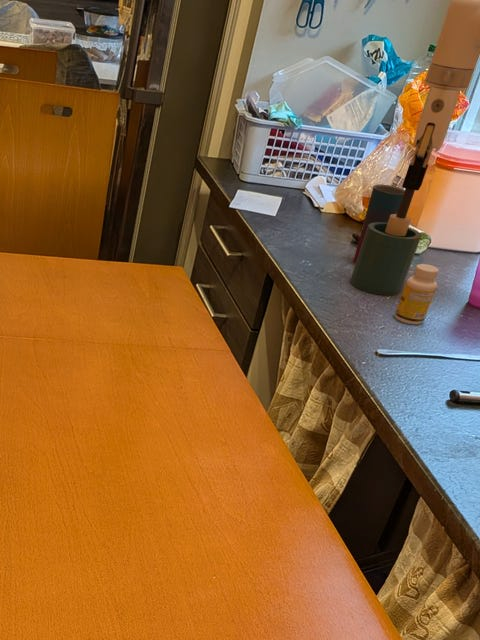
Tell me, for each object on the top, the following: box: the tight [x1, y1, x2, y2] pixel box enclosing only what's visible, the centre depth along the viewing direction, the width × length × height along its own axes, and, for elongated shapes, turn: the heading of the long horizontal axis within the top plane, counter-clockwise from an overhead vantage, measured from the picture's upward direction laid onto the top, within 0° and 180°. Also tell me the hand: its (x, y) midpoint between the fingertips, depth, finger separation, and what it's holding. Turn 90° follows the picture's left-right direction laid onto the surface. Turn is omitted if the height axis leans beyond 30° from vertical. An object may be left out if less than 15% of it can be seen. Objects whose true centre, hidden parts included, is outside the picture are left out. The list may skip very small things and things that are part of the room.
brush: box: [385, 188, 416, 236], centre depth 179 cm, size 4×4×14 cm
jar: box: [349, 222, 422, 296], centre depth 187 cm, size 10×10×11 cm
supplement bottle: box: [394, 263, 440, 326], centre depth 174 cm, size 5×5×10 cm
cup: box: [353, 183, 405, 264], centre depth 197 cm, size 7×7×15 cm
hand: (411, 186), depth 178 cm, fingers closed on brush
